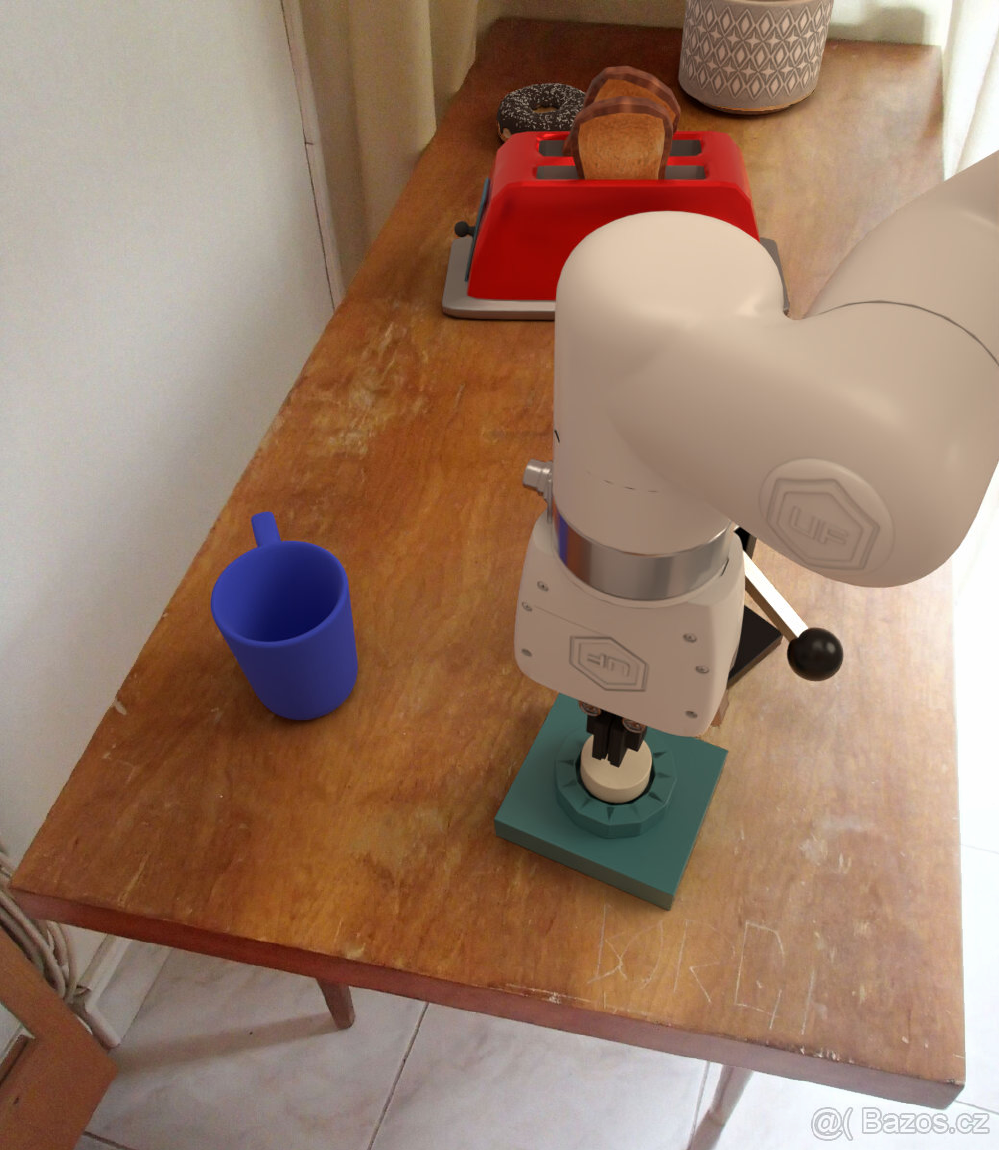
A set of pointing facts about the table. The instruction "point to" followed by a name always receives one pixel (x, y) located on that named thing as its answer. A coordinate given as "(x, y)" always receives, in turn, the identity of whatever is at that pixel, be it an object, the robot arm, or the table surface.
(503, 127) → the donut
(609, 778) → the button
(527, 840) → the button block
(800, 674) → the lever
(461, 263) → the toaster
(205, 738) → the table surface
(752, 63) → the planter
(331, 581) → the mug
